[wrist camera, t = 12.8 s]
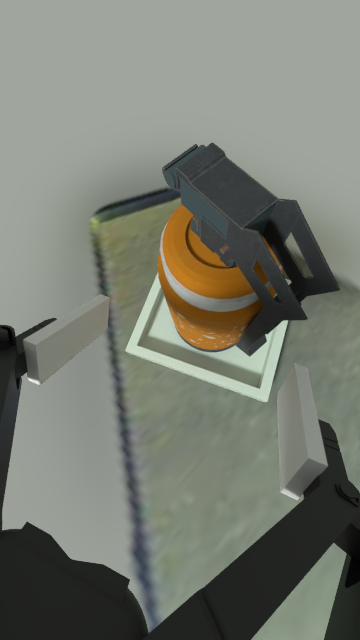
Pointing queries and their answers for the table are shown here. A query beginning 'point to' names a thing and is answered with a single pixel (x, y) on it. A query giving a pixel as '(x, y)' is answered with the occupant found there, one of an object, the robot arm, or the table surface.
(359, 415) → the table surface
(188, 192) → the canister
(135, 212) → the table surface
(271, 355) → the tray
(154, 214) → the table surface
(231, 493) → the table surface
